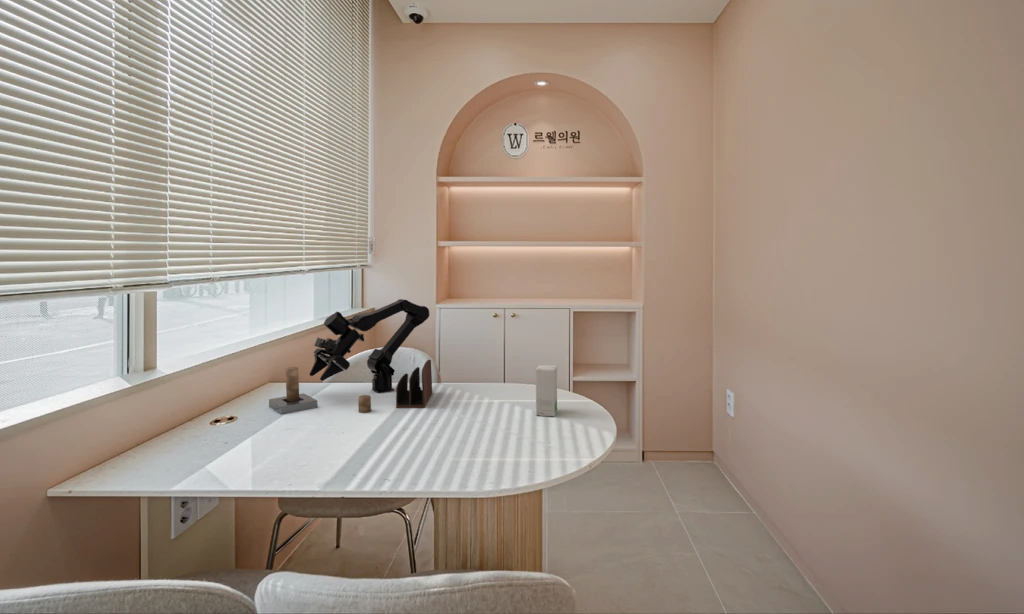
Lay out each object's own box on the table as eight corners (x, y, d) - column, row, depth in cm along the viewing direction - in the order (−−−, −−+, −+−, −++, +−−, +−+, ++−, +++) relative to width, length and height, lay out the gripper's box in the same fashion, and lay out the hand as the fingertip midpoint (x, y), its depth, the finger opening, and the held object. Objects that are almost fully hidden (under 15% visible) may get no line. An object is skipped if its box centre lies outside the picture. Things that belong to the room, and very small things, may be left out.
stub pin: (368, 408, 178) (367, 394, 177) (372, 411, 175) (372, 396, 174) (356, 410, 175) (356, 396, 175) (361, 413, 172) (360, 398, 172)
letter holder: (432, 393, 199) (432, 356, 197) (424, 408, 179) (424, 368, 178) (406, 393, 199) (405, 356, 197) (395, 408, 179) (395, 368, 177)
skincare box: (554, 417, 170) (555, 370, 168) (534, 416, 171) (534, 369, 169) (557, 410, 178) (558, 364, 176) (538, 408, 179) (538, 364, 177)
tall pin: (300, 404, 182) (298, 366, 180) (299, 408, 178) (297, 369, 177) (287, 405, 181) (286, 367, 179) (286, 409, 177) (284, 369, 175)
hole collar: (304, 400, 188) (303, 393, 187) (317, 407, 179) (317, 400, 179) (269, 406, 180) (268, 399, 179) (281, 414, 171) (280, 406, 171)
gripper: (318, 326, 192) (288, 360, 186) (340, 332, 179) (309, 368, 172) (339, 345, 199) (311, 378, 192) (362, 351, 185) (332, 387, 179)
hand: (315, 377), depth 184 cm, fingers open, 9 cm apart
